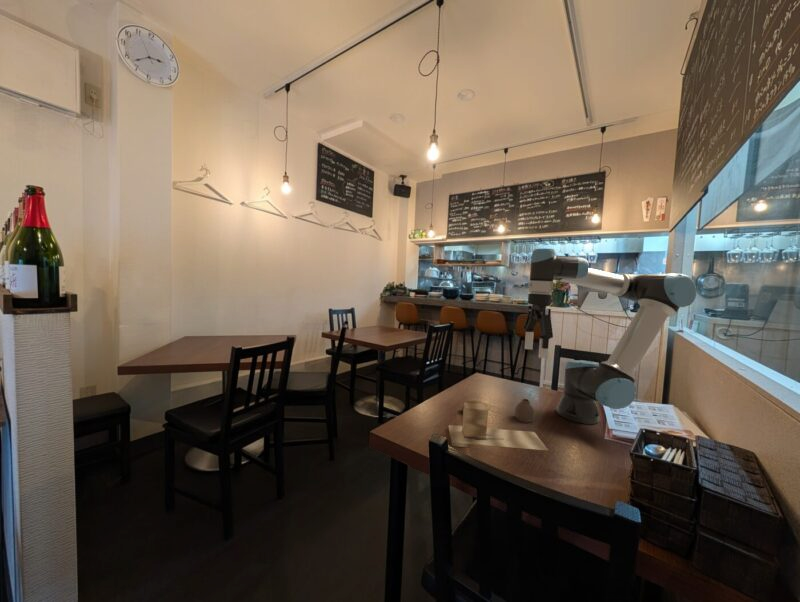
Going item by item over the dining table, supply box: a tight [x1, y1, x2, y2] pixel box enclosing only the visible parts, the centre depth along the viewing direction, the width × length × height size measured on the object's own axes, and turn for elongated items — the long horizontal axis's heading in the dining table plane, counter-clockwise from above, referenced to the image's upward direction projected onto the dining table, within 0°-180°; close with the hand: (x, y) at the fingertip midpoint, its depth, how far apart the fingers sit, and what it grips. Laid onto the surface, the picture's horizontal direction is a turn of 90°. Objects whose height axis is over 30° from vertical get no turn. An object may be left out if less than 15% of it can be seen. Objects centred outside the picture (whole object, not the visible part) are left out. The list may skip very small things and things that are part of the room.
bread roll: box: [461, 399, 485, 414], centre depth 122 cm, size 10×10×8 cm
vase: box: [514, 398, 536, 424], centre depth 119 cm, size 7×7×9 cm
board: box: [448, 424, 549, 451], centre depth 104 cm, size 30×12×1 cm, turn 87°
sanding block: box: [461, 402, 489, 440], centre depth 104 cm, size 7×5×10 cm
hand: (535, 353), depth 109 cm, fingers open, 13 cm apart
